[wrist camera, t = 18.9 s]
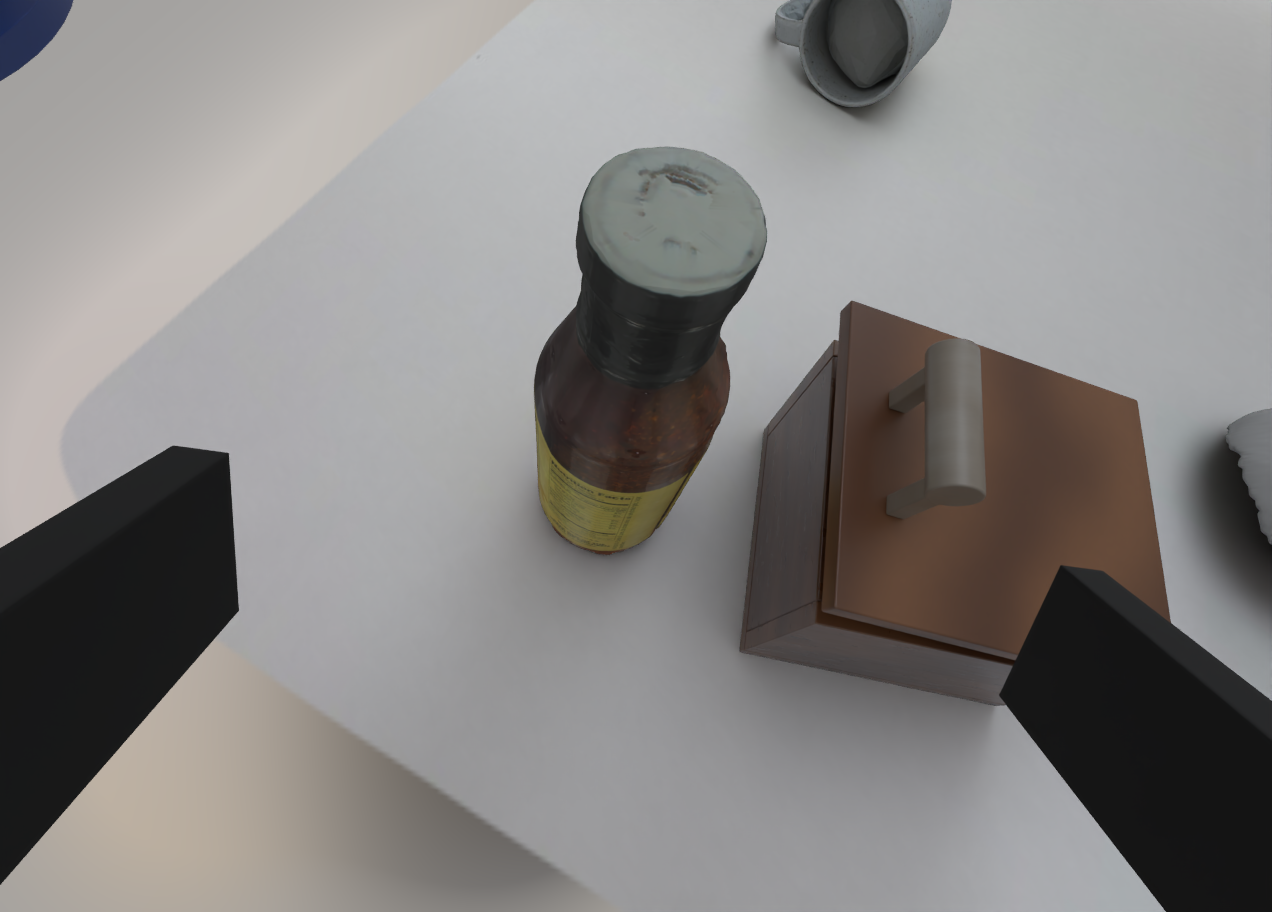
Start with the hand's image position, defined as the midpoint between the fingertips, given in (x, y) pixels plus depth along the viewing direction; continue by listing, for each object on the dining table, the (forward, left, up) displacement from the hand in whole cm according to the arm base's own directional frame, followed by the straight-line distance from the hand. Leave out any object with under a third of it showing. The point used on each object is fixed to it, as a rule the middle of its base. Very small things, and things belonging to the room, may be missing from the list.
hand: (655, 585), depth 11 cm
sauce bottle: (-1, +8, -20) cm, 22 cm away
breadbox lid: (+13, +8, -10) cm, 19 cm away
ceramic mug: (+9, +44, -20) cm, 50 cm away
